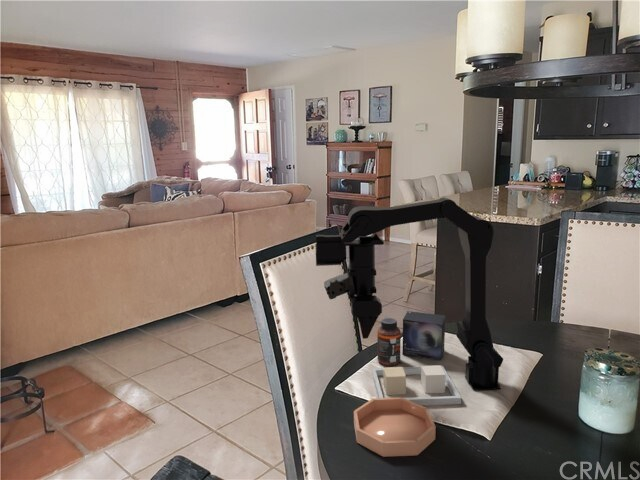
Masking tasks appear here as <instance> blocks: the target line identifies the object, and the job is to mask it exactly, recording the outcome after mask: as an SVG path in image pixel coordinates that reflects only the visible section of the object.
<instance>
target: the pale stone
mask: <svg viewBox="0 0 640 480" xmlns="http://www.w3.org/2000/svg"><path fill="white" fill-rule="evenodd" d="M441 366H442V365H440V364H439V365H421V366H420V367H421V374H420V384H421V386H422V389H423V391H424V393H425V394H440V393H446V383H445V378H446V375H445V373H444V371H443V369H442V368H441Z"/></svg>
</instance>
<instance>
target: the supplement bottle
mask: <svg viewBox="0 0 640 480" xmlns="http://www.w3.org/2000/svg"><path fill="white" fill-rule="evenodd" d="M380 321H381V322H380V323H381V324H380V325H381V326H380V327H378V329H377V332H376V333H377V336H376V337H377V339H376V340H377V341H376V343H377V349H376V350H377V361H378V363H380V364H381V365H384V366H396V365H398V364H399V363H400V361H401V343H402V342H401V338H402V337H401V335H402V334H401V329H400V328H399V327H398V320H397V319H395V318H391V317H386V318H385V317H384V318H382V319H381V320H380Z"/></svg>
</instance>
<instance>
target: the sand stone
mask: <svg viewBox="0 0 640 480" xmlns="http://www.w3.org/2000/svg"><path fill="white" fill-rule="evenodd" d="M403 368H404V367H403V366H393V367H391V366H390V367H389V366H388V367H386V366H385V367H383V376H382V377H383V378H382V380H383V383H382V384H383V385H382V386H383V389H384V388H385V389H384V392H385V395H390V396H391V395H406V394H407V375H405V372H404V370H403Z"/></svg>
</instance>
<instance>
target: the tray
mask: <svg viewBox="0 0 640 480" xmlns="http://www.w3.org/2000/svg"><path fill="white" fill-rule="evenodd" d="M440 366H441V368H442V369H443V371H444V373H445V375H446V378H445V386H447V388H448V391H449V392H450V394H451V395H447V396H445V395H444V396H425V397H424V396H423V397H422V396H419V397H404V398H405V399H407V400H409V401H412V402H414V403H416V404H419V405H421V406H441V405H442V406H444V405H461V404H462V396H461V395H460V393H459V391H458V390H457V388H456V386H455V385H454V383H453V381H452V380H451V378H450V376H449V374H448V373H447V371H446V369H445V367H444V365H440ZM383 368H384V367H383ZM383 368H382V367H381V368H372V369H371V376H372V379H373V383H374V388H375V391H376V396H377V398H384V395H383V392H382V387H381V384H380V382H379V378H378V377H379V376H382V377H383ZM403 370H404V372H405V375H406V376H407V375H411V376H412V375H421V366H415V367H413V366H411V367H410V366H409V367H403Z"/></svg>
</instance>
